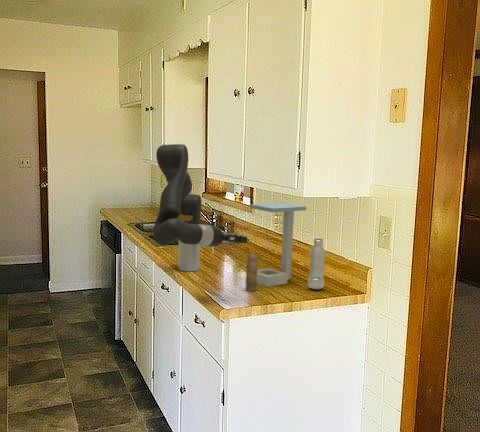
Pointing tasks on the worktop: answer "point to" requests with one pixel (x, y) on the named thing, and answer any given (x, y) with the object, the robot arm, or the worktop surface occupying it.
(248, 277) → the peg
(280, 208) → the socket stand
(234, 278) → the worktop surface
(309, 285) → the plastic bottle
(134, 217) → the worktop surface
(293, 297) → the worktop surface
